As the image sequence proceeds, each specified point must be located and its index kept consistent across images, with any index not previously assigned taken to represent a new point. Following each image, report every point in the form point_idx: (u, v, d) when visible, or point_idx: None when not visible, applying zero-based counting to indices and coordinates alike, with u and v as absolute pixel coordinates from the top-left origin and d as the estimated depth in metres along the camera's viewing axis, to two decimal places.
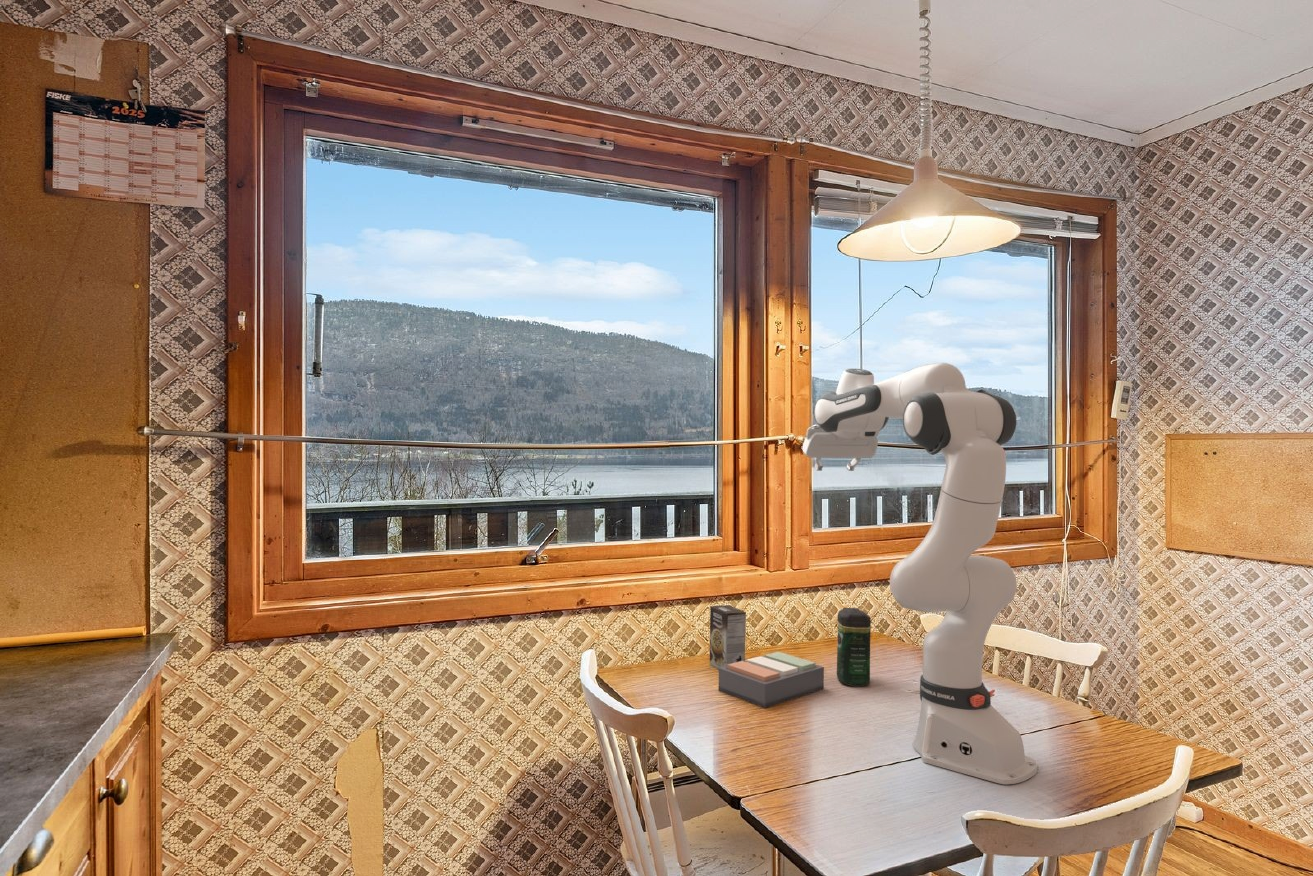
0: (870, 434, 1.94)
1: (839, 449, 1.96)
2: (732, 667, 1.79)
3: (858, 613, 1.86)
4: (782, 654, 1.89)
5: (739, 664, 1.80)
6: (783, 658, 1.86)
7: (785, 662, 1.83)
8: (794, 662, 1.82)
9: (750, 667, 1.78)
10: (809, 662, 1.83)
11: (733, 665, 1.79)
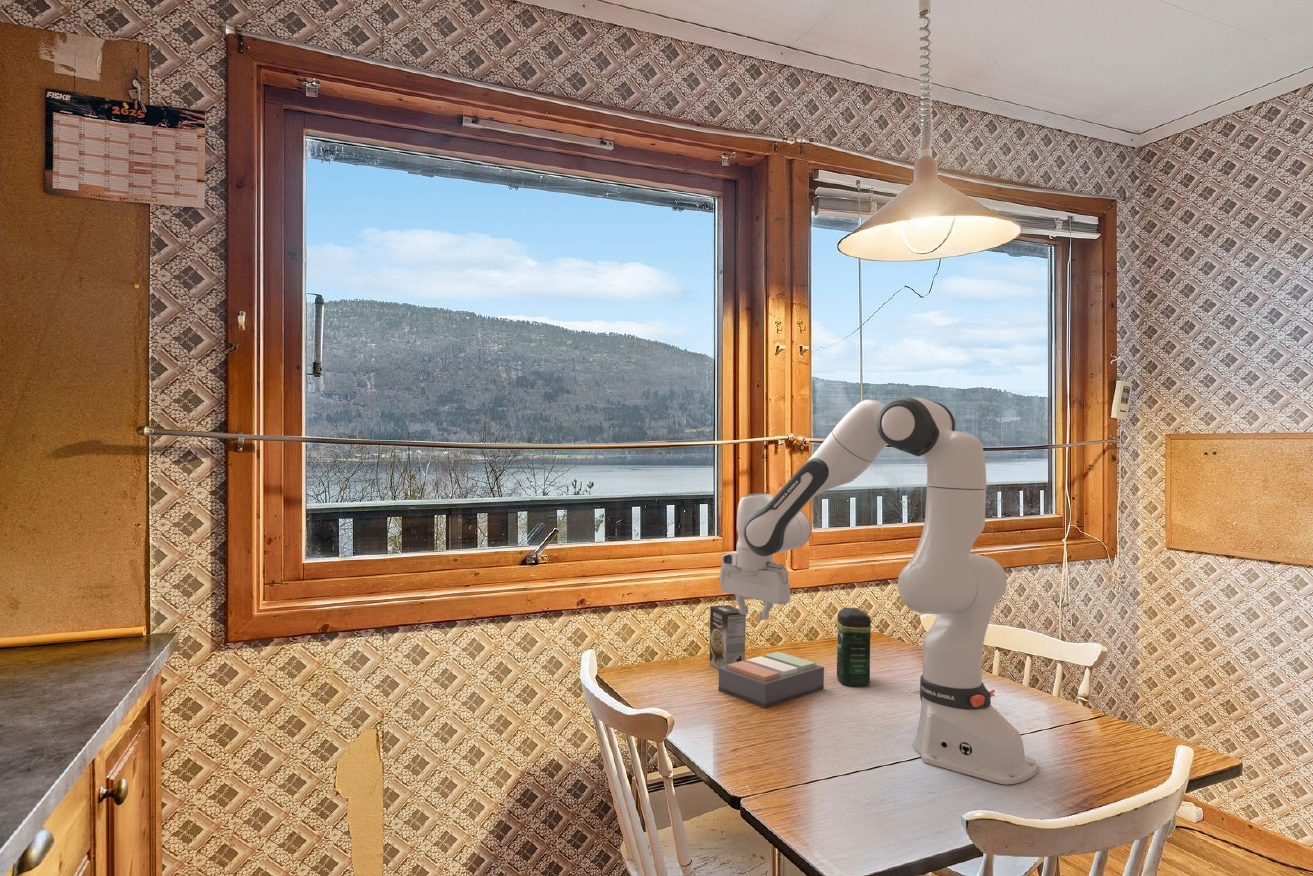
0: None
1: None
2: (732, 667, 1.79)
3: (858, 613, 1.86)
4: (782, 654, 1.89)
5: (739, 664, 1.80)
6: (783, 658, 1.86)
7: (785, 662, 1.83)
8: (794, 662, 1.82)
9: (750, 667, 1.78)
10: (809, 662, 1.83)
11: (733, 665, 1.79)
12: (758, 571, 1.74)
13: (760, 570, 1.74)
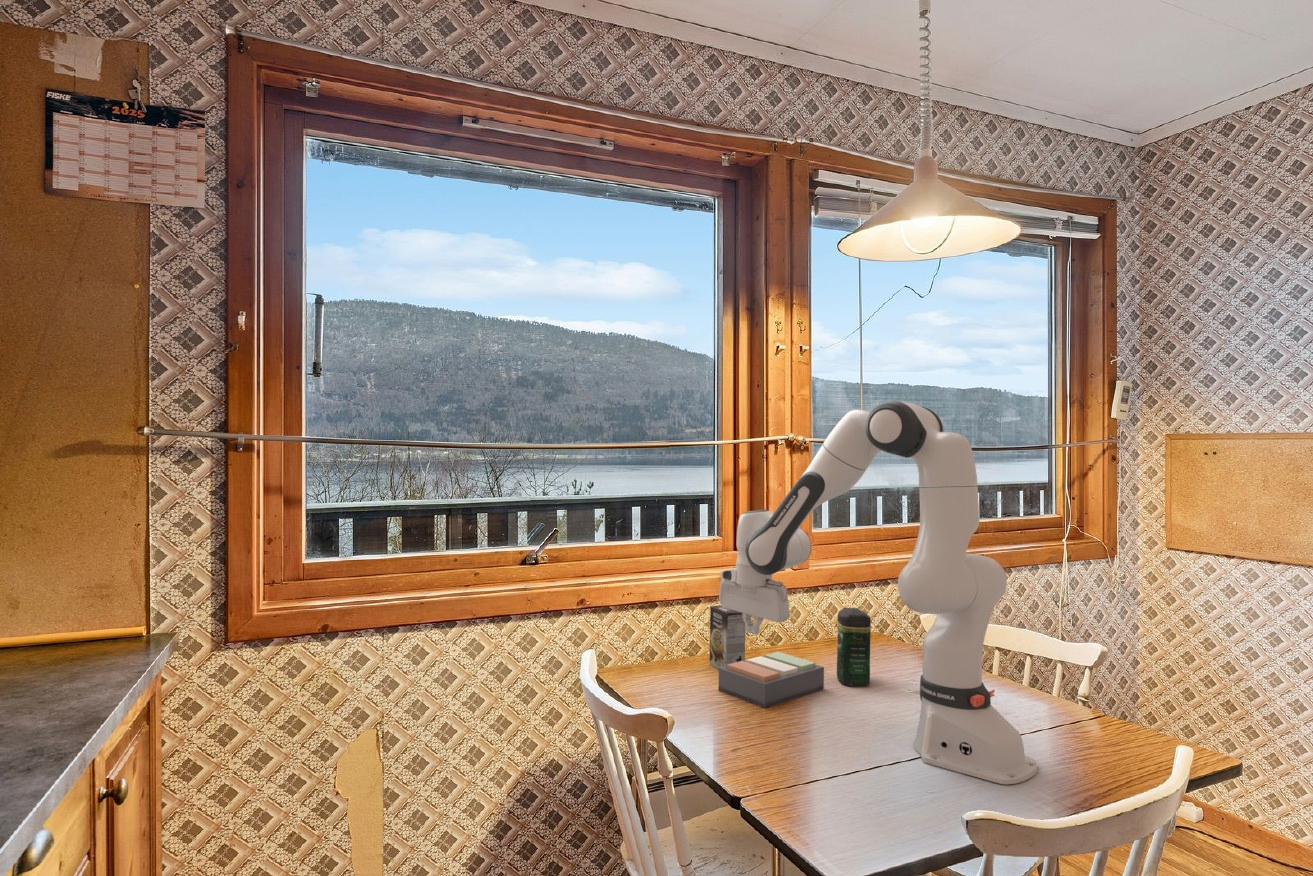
0: None
1: None
2: (732, 667, 1.79)
3: (858, 613, 1.86)
4: (782, 654, 1.89)
5: (739, 664, 1.80)
6: (783, 658, 1.86)
7: (785, 662, 1.83)
8: (794, 662, 1.82)
9: (750, 667, 1.78)
10: (809, 662, 1.83)
11: (733, 665, 1.79)
12: (757, 588, 1.74)
13: (759, 587, 1.74)
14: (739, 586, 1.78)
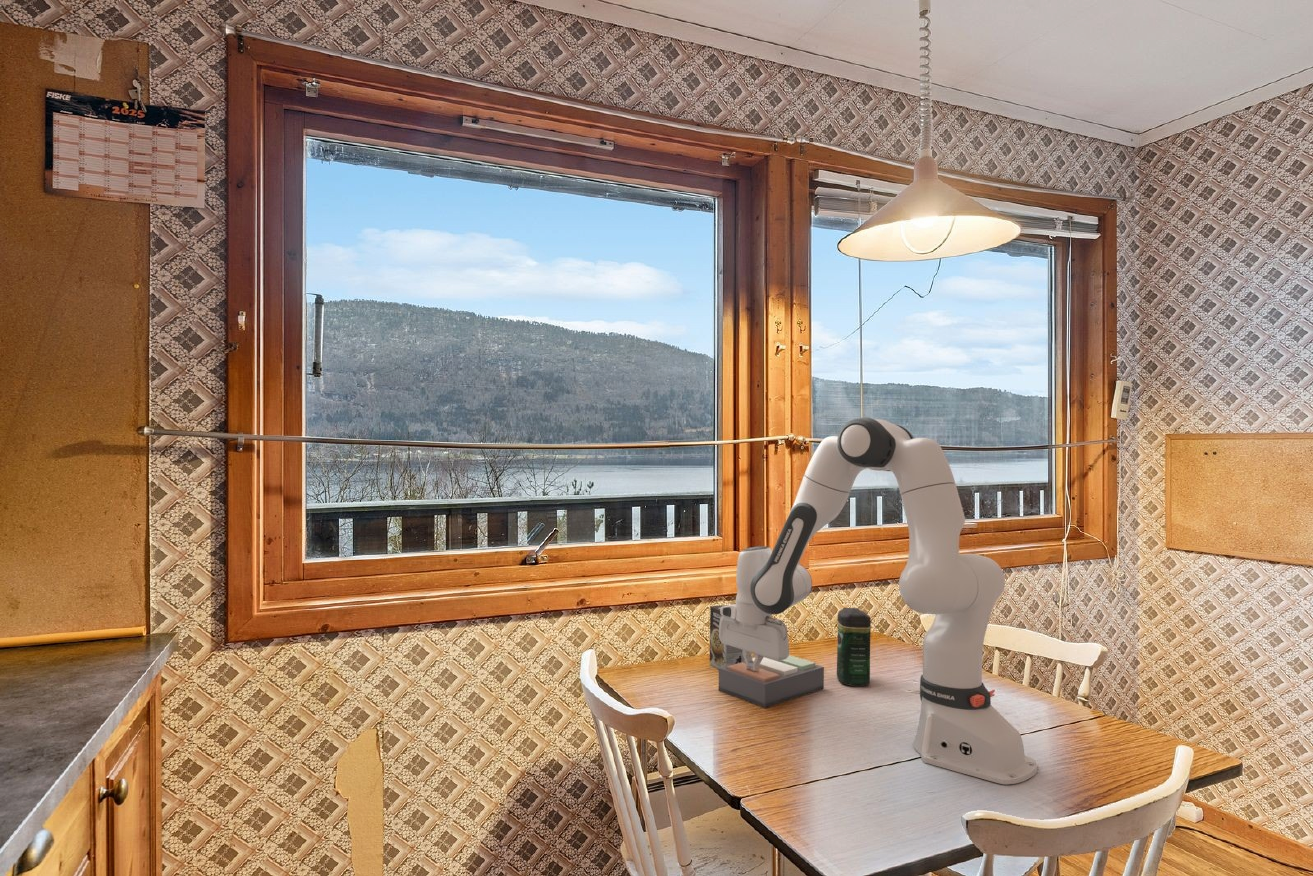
0: None
1: None
2: (732, 669, 1.79)
3: (858, 613, 1.86)
4: None
5: (739, 666, 1.80)
6: None
7: (785, 662, 1.83)
8: (794, 662, 1.82)
9: None
10: (809, 662, 1.83)
11: (733, 667, 1.79)
12: (757, 626, 1.74)
13: (759, 625, 1.74)
14: (739, 623, 1.78)
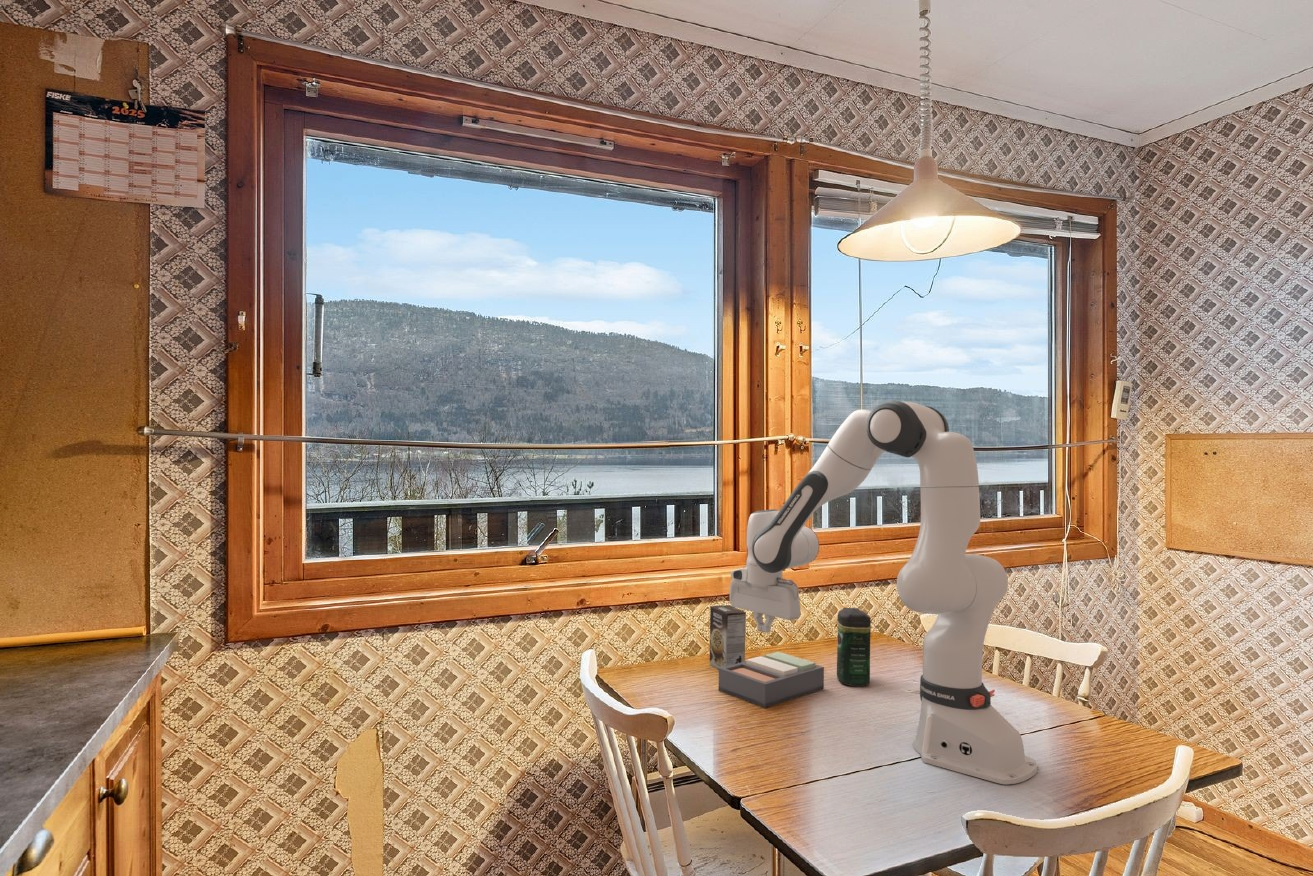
0: None
1: None
2: None
3: (858, 613, 1.86)
4: (782, 654, 1.89)
5: (739, 671, 1.80)
6: (783, 658, 1.86)
7: (785, 662, 1.83)
8: (794, 662, 1.82)
9: (750, 674, 1.78)
10: (809, 662, 1.83)
11: None
12: (768, 587, 1.76)
13: (770, 586, 1.76)
14: (750, 585, 1.80)
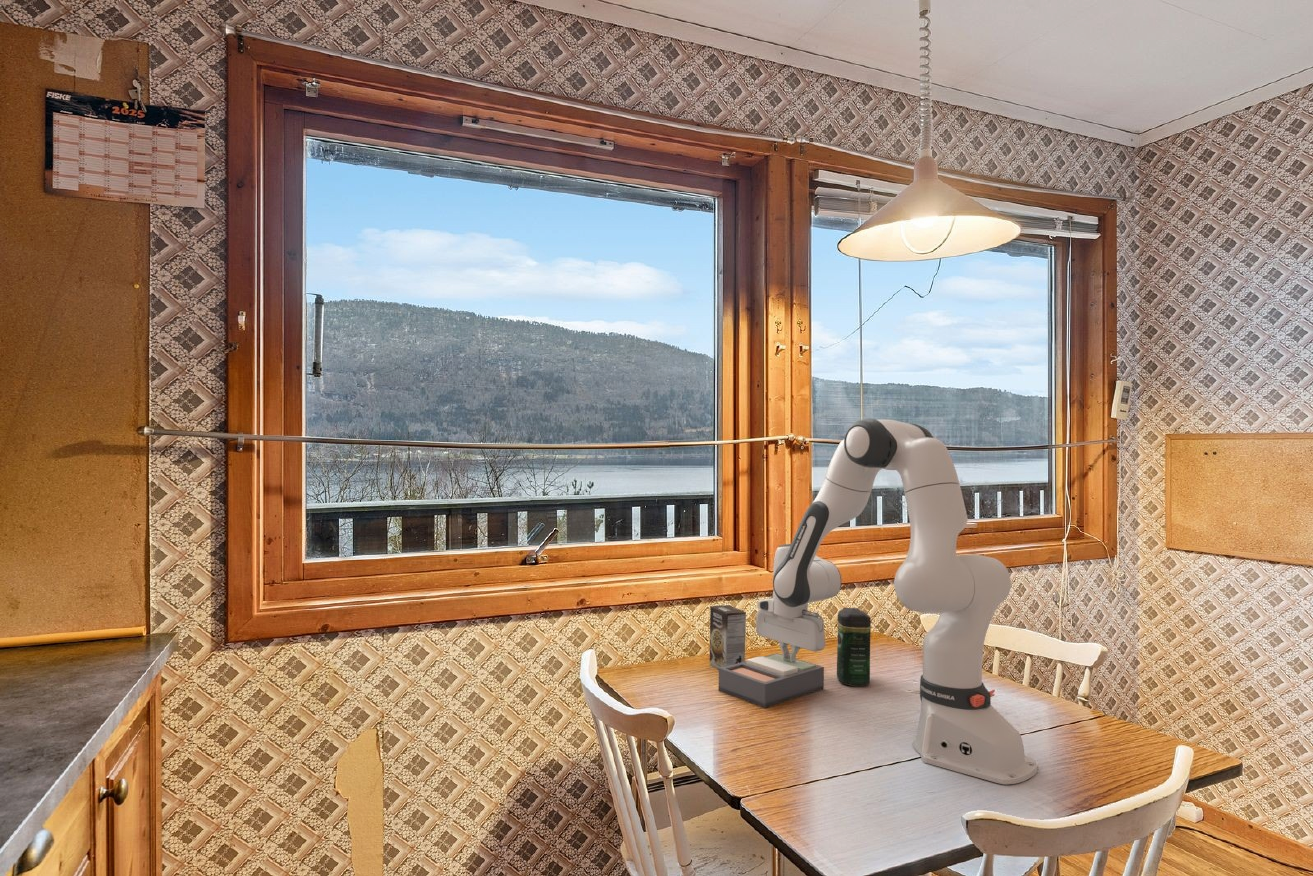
0: None
1: None
2: None
3: (858, 613, 1.86)
4: (782, 656, 1.89)
5: (739, 671, 1.80)
6: (783, 661, 1.86)
7: None
8: (794, 665, 1.82)
9: (750, 674, 1.78)
10: (809, 664, 1.83)
11: None
12: (794, 618, 1.83)
13: (796, 618, 1.82)
14: (776, 616, 1.87)
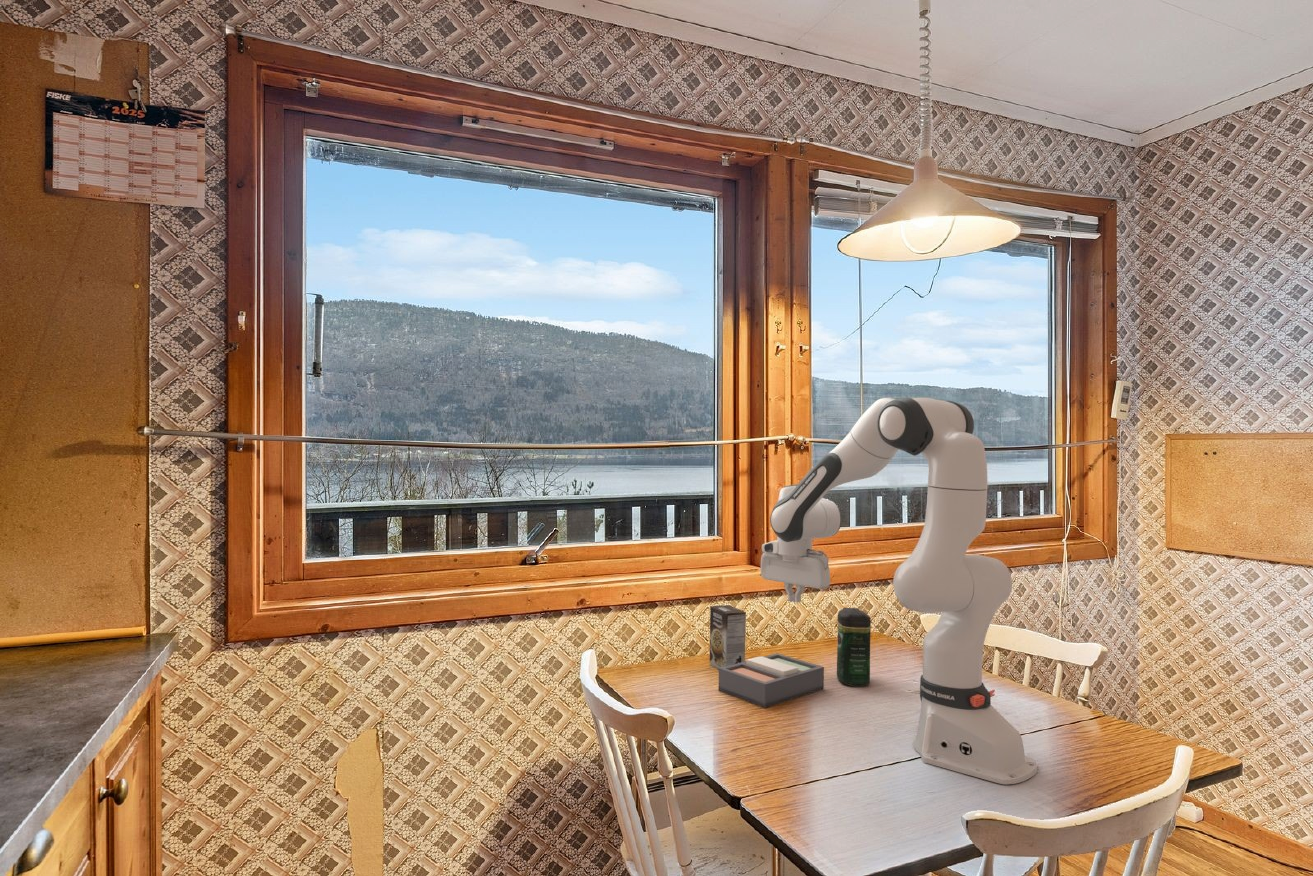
0: None
1: None
2: None
3: (858, 613, 1.86)
4: (782, 660, 1.89)
5: (739, 671, 1.80)
6: None
7: None
8: None
9: (750, 674, 1.78)
10: None
11: None
12: (799, 558, 1.84)
13: (801, 557, 1.84)
14: (780, 557, 1.88)
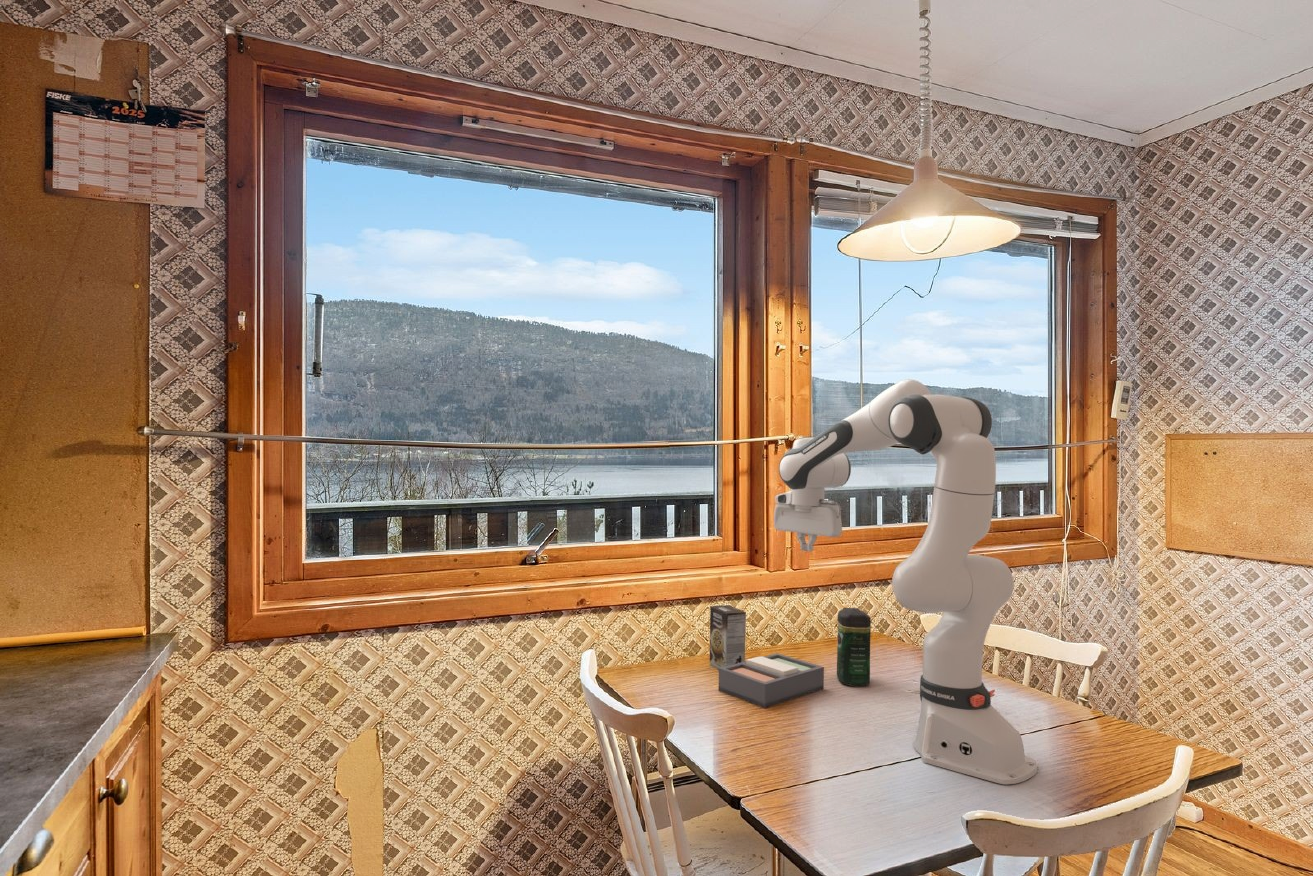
0: None
1: None
2: None
3: (858, 613, 1.86)
4: (782, 660, 1.89)
5: (739, 671, 1.80)
6: None
7: None
8: None
9: (750, 674, 1.78)
10: None
11: None
12: (811, 508, 1.89)
13: (813, 507, 1.89)
14: (793, 508, 1.93)
